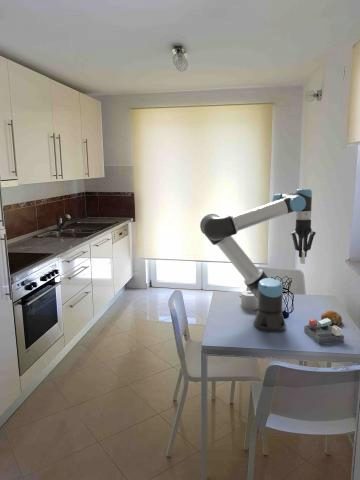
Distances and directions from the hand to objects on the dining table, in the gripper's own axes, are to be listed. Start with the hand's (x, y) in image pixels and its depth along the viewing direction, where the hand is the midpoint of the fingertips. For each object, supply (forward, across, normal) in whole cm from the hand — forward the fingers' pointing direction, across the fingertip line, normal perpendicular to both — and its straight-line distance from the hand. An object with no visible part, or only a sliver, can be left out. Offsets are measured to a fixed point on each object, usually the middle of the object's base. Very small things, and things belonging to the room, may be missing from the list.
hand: (302, 263), depth 200 cm
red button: (+24, -4, -24) cm, 34 cm away
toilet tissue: (+29, -24, +16) cm, 41 cm away
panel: (+29, -1, -28) cm, 40 cm away
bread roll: (+29, +10, -12) cm, 33 cm away
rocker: (+24, +2, -24) cm, 33 cm away
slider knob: (+25, +3, -33) cm, 42 cm away
